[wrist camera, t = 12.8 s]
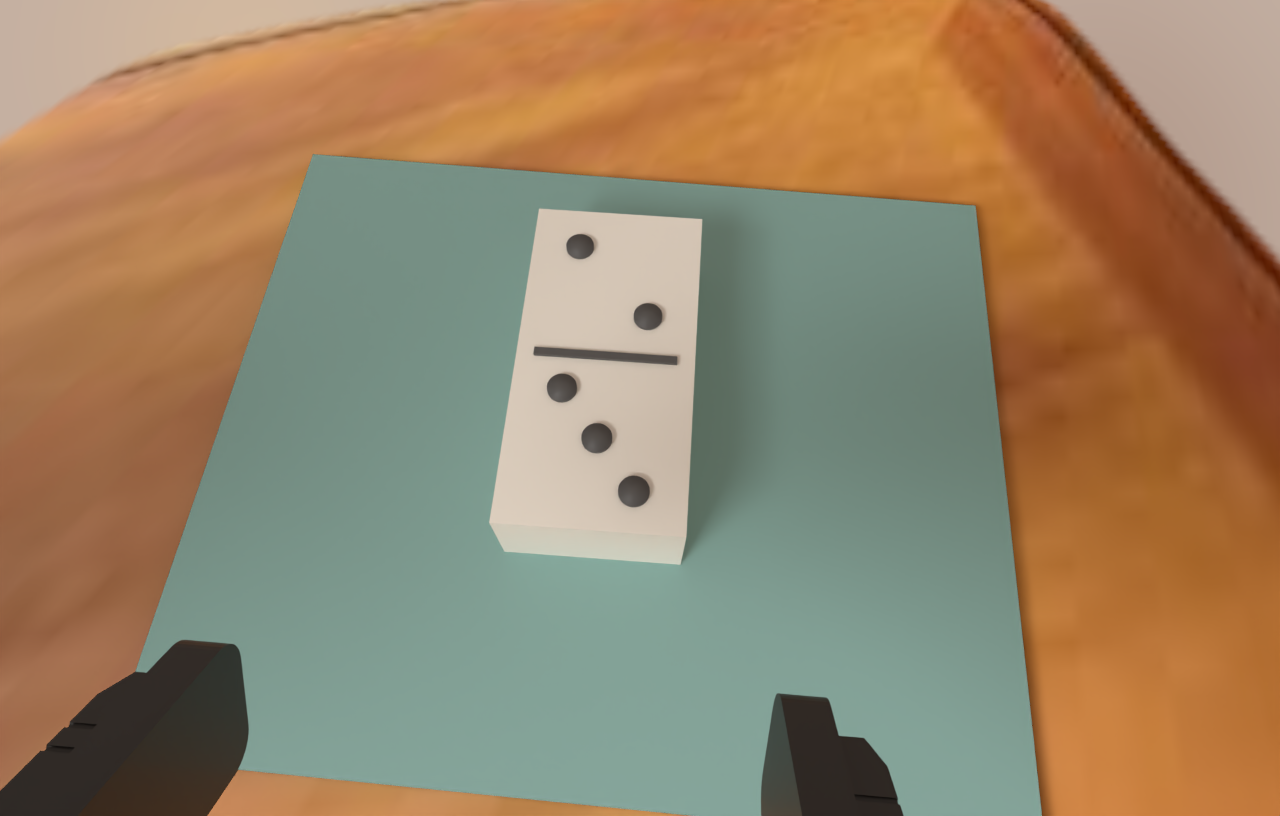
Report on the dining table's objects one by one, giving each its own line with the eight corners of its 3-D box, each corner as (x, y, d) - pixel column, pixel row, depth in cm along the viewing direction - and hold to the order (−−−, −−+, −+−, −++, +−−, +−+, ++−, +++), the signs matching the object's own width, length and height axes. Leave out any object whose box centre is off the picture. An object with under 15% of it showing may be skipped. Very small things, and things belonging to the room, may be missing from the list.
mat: (118, 757, 23) (106, 756, 23) (318, 164, 33) (313, 154, 32) (1035, 850, 22) (1045, 851, 22) (969, 215, 32) (975, 205, 31)
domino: (488, 521, 22) (538, 205, 27) (504, 551, 25) (547, 261, 30) (686, 535, 22) (702, 216, 27) (680, 564, 25) (695, 271, 30)
